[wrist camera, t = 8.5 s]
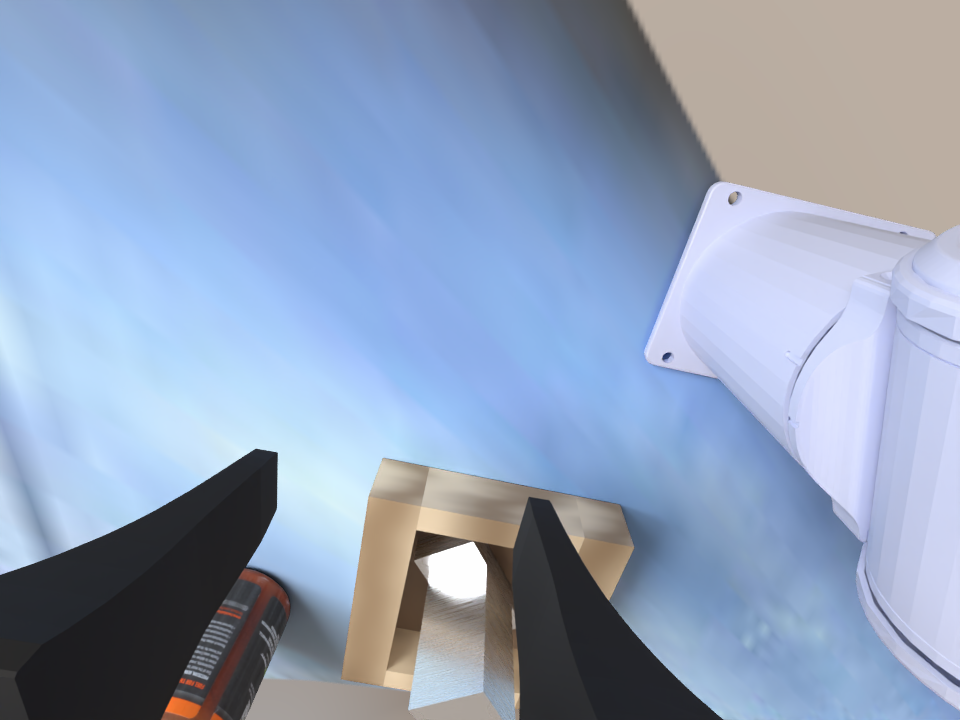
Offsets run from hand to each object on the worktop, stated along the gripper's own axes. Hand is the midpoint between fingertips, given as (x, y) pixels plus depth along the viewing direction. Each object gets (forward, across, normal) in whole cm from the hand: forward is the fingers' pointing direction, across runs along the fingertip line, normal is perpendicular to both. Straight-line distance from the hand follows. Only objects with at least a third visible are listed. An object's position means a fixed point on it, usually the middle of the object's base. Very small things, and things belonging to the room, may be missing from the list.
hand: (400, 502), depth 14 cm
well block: (+10, -4, +13) cm, 17 cm away
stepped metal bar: (+10, -4, +13) cm, 17 cm away
